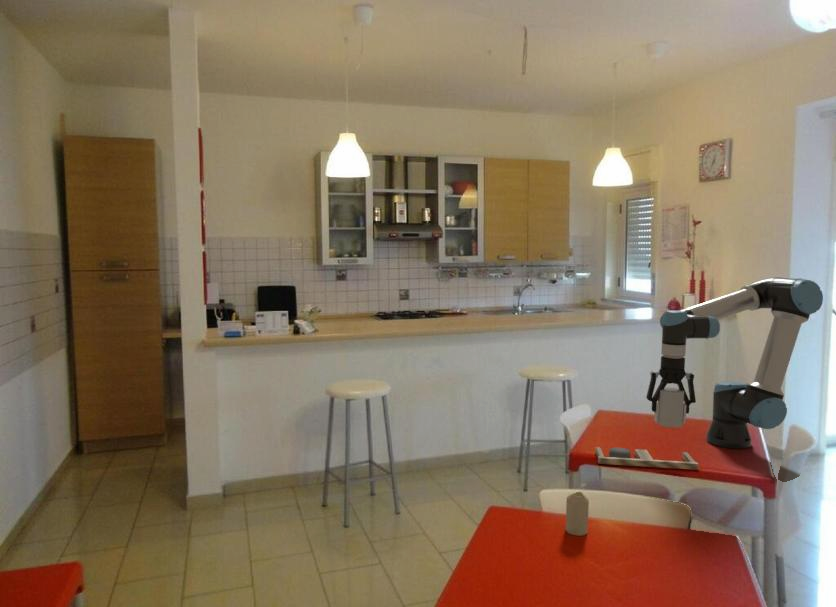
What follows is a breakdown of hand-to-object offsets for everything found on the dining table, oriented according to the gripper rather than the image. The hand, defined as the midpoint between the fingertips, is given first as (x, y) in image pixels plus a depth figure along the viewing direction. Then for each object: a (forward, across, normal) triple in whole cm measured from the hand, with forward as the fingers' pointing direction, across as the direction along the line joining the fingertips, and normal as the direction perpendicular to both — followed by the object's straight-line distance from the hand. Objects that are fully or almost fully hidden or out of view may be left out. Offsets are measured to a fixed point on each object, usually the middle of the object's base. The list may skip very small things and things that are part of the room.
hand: (669, 421), depth 205 cm
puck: (+14, +16, 0) cm, 21 cm away
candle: (+14, +36, +58) cm, 70 cm away
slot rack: (+14, +8, +1) cm, 16 cm away
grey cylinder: (+1, 0, 0) cm, 1 cm away
